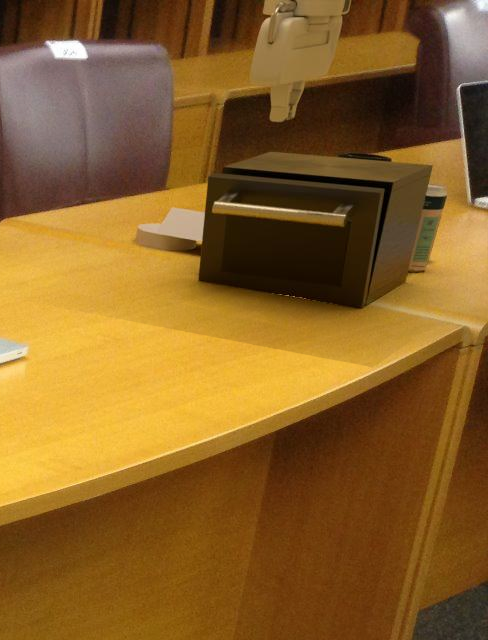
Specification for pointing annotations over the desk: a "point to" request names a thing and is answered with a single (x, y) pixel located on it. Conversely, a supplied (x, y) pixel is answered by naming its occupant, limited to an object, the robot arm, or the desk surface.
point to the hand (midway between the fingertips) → (281, 120)
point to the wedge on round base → (173, 231)
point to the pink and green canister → (428, 227)
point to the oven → (396, 178)
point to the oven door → (290, 237)
